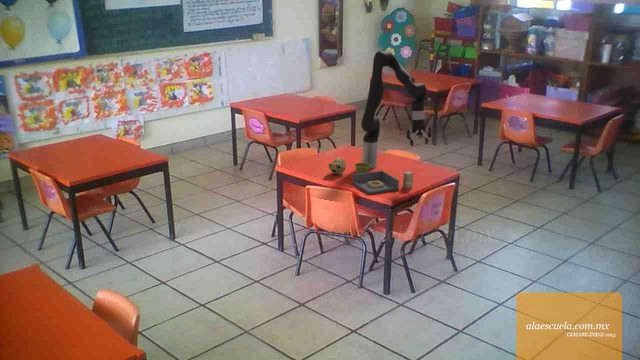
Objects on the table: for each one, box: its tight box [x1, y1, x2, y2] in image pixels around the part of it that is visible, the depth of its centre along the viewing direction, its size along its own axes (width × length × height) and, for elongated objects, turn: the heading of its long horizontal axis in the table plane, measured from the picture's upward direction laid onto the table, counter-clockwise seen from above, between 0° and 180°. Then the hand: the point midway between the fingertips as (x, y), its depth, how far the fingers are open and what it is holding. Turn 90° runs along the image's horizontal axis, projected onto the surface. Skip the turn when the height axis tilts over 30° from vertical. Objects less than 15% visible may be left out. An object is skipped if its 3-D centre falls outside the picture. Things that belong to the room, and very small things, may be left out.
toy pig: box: [328, 156, 347, 176], centre depth 371 cm, size 10×12×11 cm
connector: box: [402, 171, 414, 190], centre depth 348 cm, size 4×4×9 cm
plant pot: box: [354, 162, 370, 174], centre depth 364 cm, size 9×9×9 cm
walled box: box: [352, 170, 400, 196], centre depth 349 cm, size 20×20×6 cm
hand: (419, 145), depth 353 cm, fingers open, 8 cm apart
